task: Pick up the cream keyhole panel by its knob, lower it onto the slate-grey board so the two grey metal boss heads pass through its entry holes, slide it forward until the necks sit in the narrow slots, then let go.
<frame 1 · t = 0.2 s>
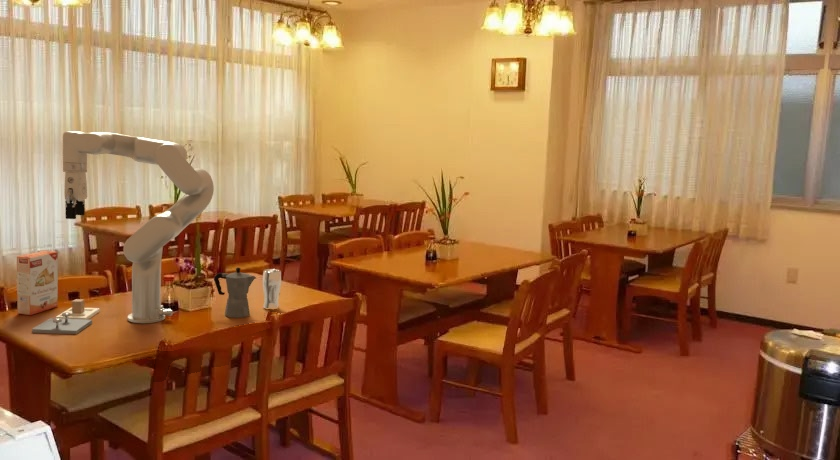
hand: (75, 216, 246), 36 cm above the table, tool pointing down, fingers open, 9 cm apart
board: (62, 327, 237), on the table
coffeepot: (234, 315, 265), on the table
beer glass: (271, 308, 276), on the table
panel: (78, 315, 252), on the table
cracker box: (38, 310, 256), on the table
bosses: (61, 320, 237), on the board, point 3 cm above the table
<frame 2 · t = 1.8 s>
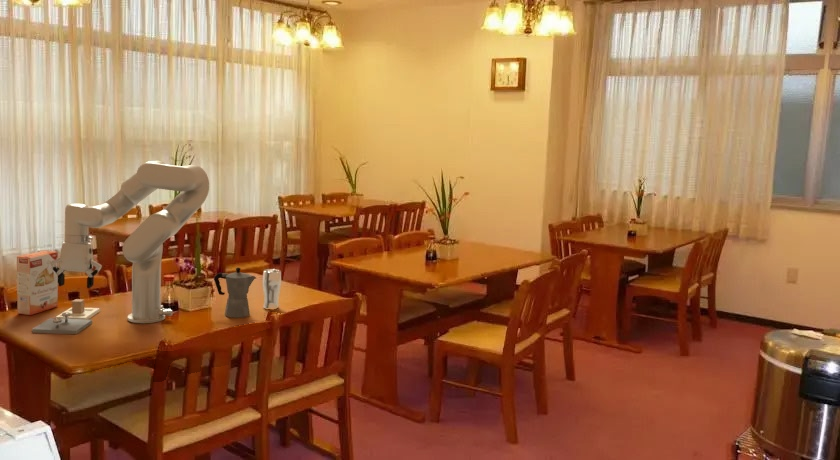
hand: (75, 286, 251), 11 cm above the table, tool pointing down, fingers open, 9 cm apart
nothing on the table moved.
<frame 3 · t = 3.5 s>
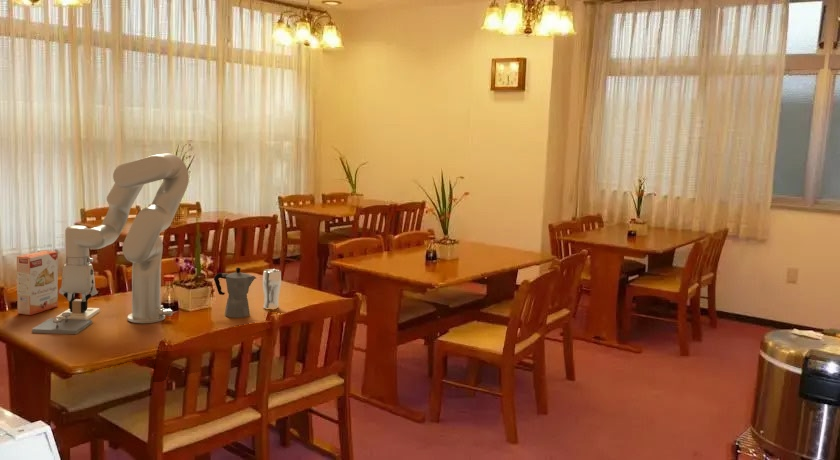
hand: (78, 311, 252), 2 cm above the table, tool pointing down, fingers closed on panel, 3 cm apart
panel: (78, 315, 252), on the table, touching gripper
everything else where it was.
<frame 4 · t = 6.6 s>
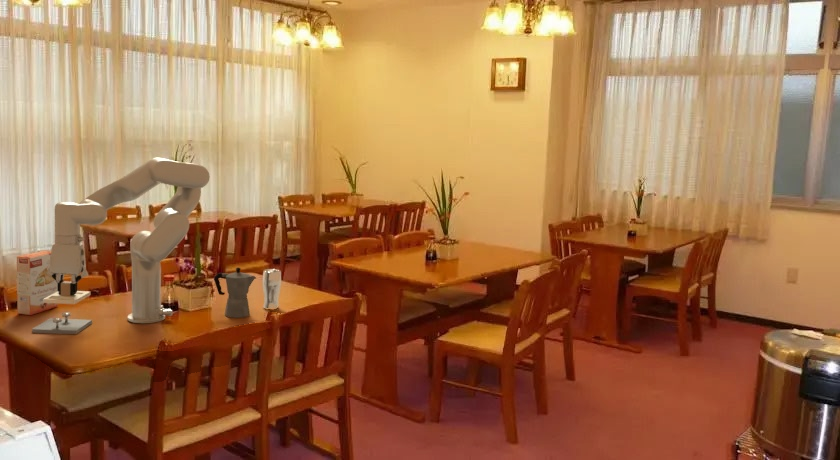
hand: (67, 293, 236), 12 cm above the table, tool pointing down, fingers closed on panel, 3 cm apart
panel: (67, 298, 236), point 10 cm above the table, touching gripper
everything else where it was.
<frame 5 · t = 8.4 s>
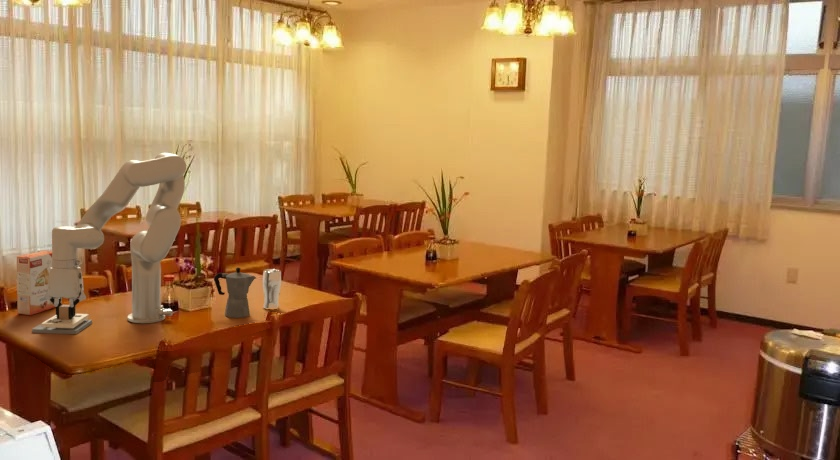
hand: (65, 317, 237), 4 cm above the table, tool pointing down, fingers closed on panel, 3 cm apart
panel: (65, 322, 237), point 2 cm above the table, touching bosses, gripper
everything else where it was.
when the fingers open (4 cm above the table, at t = 9.9 s): panel stays where it is, resting on board.
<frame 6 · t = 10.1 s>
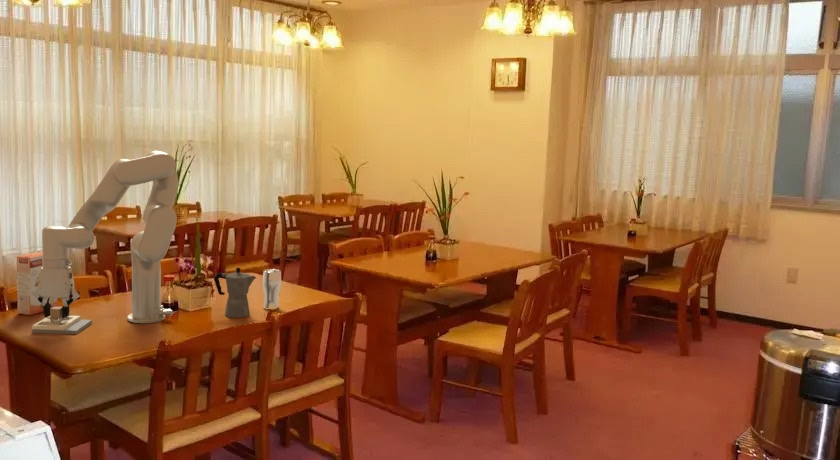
hand: (56, 316, 237), 4 cm above the table, tool pointing down, fingers open, 4 cm apart
panel: (57, 324, 237), point 1 cm above the table, touching board
everything else where it was.
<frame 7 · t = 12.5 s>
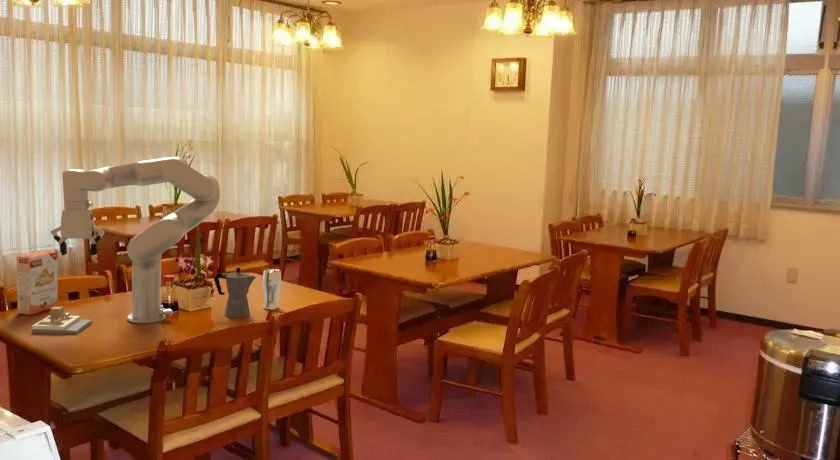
hand: (79, 254, 245), 23 cm above the table, tool pointing down, fingers open, 9 cm apart
nothing on the table moved.
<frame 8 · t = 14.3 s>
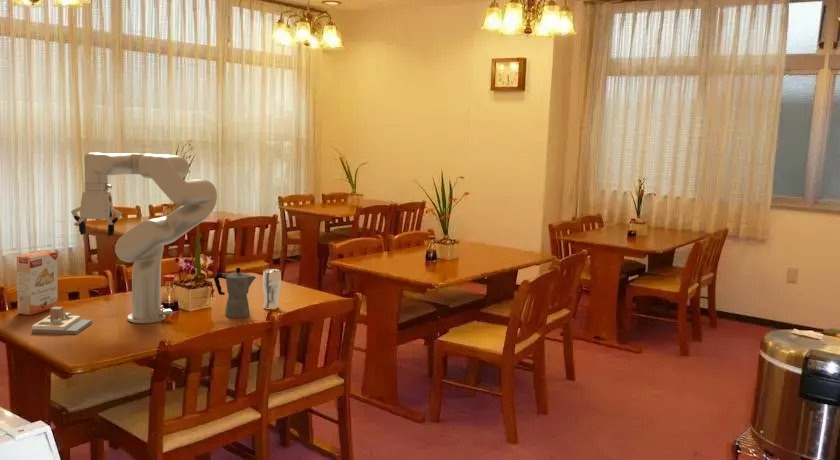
hand: (96, 234, 255), 28 cm above the table, tool pointing down, fingers open, 9 cm apart
nothing on the table moved.
at the end: panel 0.2 cm from the target spot on the board, point 1.2 cm above the board's base; panel tilted 0°; the gripper is holding nothing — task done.
